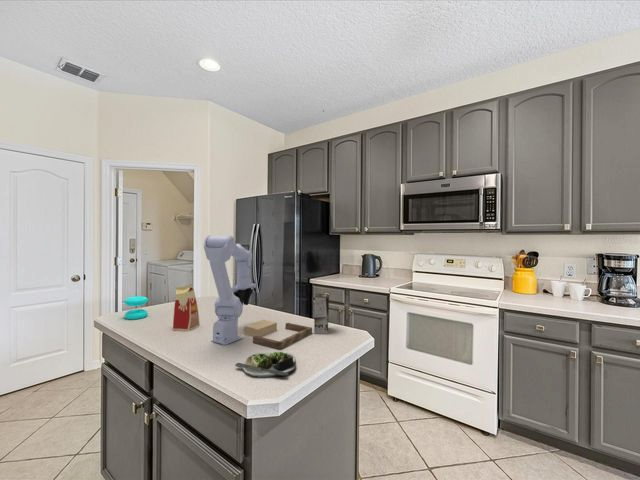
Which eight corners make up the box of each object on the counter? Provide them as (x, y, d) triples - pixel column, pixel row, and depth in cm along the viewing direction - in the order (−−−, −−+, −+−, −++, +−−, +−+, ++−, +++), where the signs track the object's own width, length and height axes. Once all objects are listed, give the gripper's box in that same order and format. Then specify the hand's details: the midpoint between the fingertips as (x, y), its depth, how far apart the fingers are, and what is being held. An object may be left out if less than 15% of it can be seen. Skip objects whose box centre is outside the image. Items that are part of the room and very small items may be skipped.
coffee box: (328, 334, 131) (329, 297, 131) (313, 333, 131) (314, 297, 131) (328, 327, 140) (328, 293, 140) (314, 327, 140) (315, 293, 140)
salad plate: (230, 382, 88) (230, 366, 88) (240, 357, 105) (240, 344, 105) (296, 380, 90) (296, 365, 90) (295, 356, 107) (295, 343, 107)
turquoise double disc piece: (120, 298, 150) (141, 295, 158) (120, 318, 150) (141, 313, 158) (130, 300, 144) (151, 297, 153) (130, 321, 145) (151, 316, 153)
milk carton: (199, 325, 140) (200, 282, 140) (189, 331, 131) (189, 286, 131) (181, 324, 141) (181, 282, 141) (169, 330, 132) (170, 285, 132)
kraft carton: (258, 338, 125) (258, 329, 125) (244, 335, 129) (244, 326, 129) (276, 331, 135) (276, 322, 135) (263, 328, 139) (263, 319, 139)
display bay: (279, 350, 112) (279, 343, 112) (252, 342, 119) (252, 336, 119) (312, 333, 132) (312, 327, 132) (287, 328, 139) (287, 322, 139)
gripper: (248, 273, 145) (247, 301, 146) (225, 277, 133) (224, 307, 133) (259, 274, 142) (258, 303, 142) (236, 278, 129) (236, 309, 129)
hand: (243, 305), depth 137 cm, fingers open, 3 cm apart
